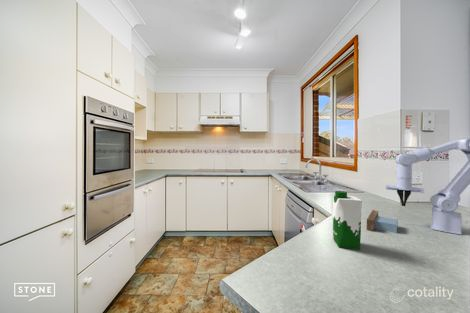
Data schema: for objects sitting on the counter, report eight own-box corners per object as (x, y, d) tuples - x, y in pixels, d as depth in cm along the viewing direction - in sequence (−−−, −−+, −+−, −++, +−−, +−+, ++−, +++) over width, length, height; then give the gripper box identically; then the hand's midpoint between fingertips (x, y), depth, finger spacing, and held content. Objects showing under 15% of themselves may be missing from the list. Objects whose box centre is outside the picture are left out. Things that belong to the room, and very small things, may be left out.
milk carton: (330, 238, 82) (331, 189, 82) (354, 240, 80) (355, 190, 80) (336, 248, 74) (337, 193, 73) (364, 251, 72) (365, 195, 72)
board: (378, 220, 106) (378, 211, 106) (373, 231, 91) (373, 220, 91) (372, 219, 107) (372, 210, 107) (366, 230, 92) (366, 219, 92)
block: (397, 227, 97) (397, 219, 96) (396, 233, 89) (396, 224, 89) (377, 223, 102) (377, 216, 102) (374, 229, 94) (374, 220, 94)
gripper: (385, 177, 101) (384, 204, 102) (424, 180, 92) (424, 210, 92) (386, 176, 107) (385, 202, 107) (423, 178, 97) (423, 207, 98)
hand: (403, 205), depth 100 cm, fingers closed
